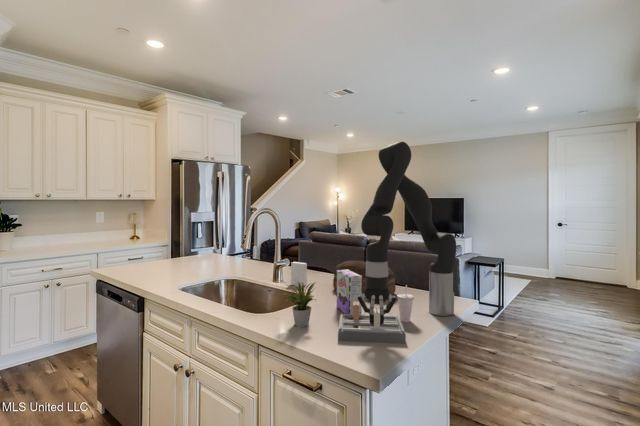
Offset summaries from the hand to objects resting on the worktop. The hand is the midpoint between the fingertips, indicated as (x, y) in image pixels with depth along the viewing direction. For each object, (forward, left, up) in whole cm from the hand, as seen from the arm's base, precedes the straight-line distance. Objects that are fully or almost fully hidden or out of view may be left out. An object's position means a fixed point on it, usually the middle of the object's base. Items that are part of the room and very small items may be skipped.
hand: (376, 324), depth 119 cm
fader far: (+7, -8, -1) cm, 11 cm away
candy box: (+10, -27, -5) cm, 29 cm away
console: (+2, -4, -4) cm, 6 cm away
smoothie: (-12, -18, -5) cm, 22 cm away
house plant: (+27, -11, -5) cm, 29 cm away
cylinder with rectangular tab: (+38, -71, -5) cm, 81 cm away
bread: (+3, -60, -5) cm, 60 cm away
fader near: (0, 0, -1) cm, 1 cm away
